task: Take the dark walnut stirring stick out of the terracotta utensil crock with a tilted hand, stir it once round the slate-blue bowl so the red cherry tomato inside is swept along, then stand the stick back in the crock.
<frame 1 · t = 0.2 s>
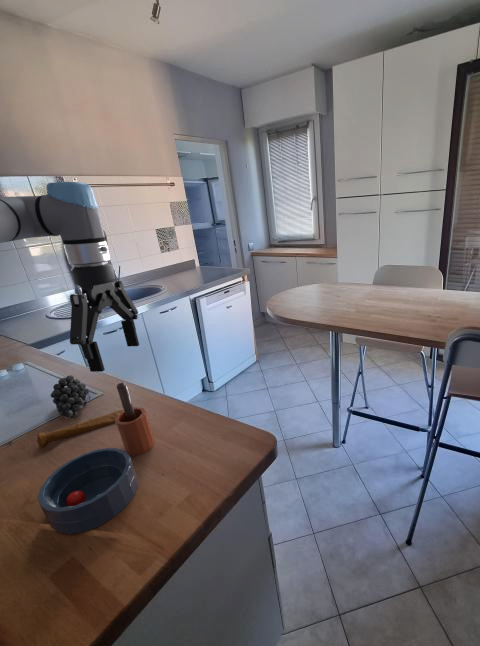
hand: (117, 357, 77), 19 cm above the counter, tool pointing down, fingers open, 13 cm apart
tomato: (75, 499, 61), point 2 cm above the counter, touching bowl
primitive tool: (88, 429, 83), on the counter
fruit: (72, 411, 92), on the counter
bowl: (96, 499, 63), on the counter
crock: (140, 447, 76), on the counter
stick: (140, 445, 75), point 1 cm above the counter, touching crock
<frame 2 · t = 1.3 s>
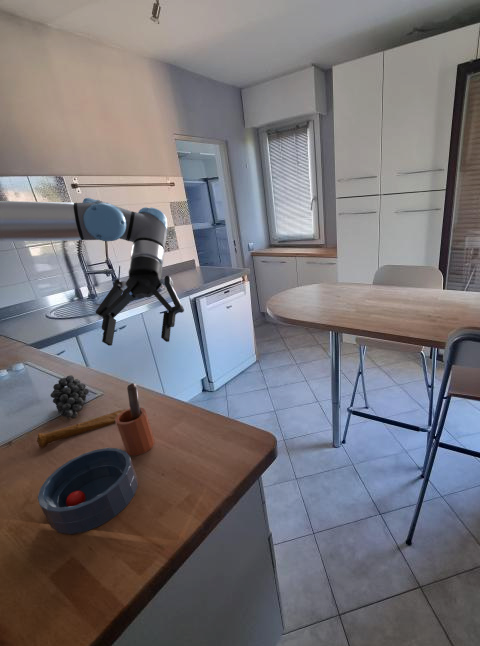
hand: (136, 341, 77), 22 cm above the counter, tool tilted 45°, fingers open, 13 cm apart
stick: (140, 445, 75), point 1 cm above the counter, tilted 9°, touching crock
everything else where it was.
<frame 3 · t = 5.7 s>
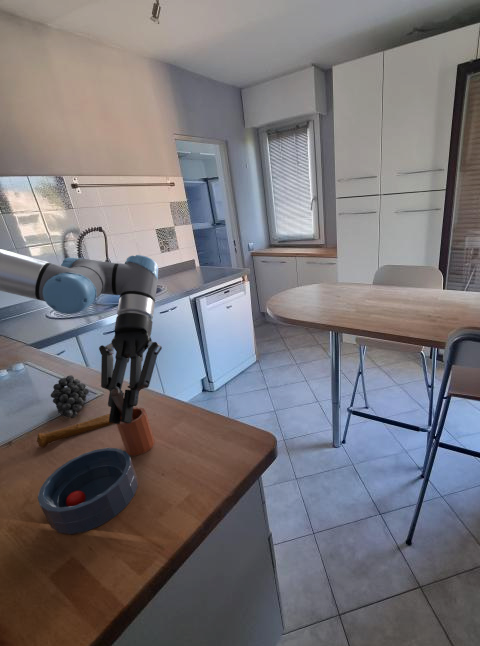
hand: (120, 422, 68), 10 cm above the counter, tool tilted 45°, fingers closed on stick, 2 cm apart
stick: (140, 445, 75), point 1 cm above the counter, tilted 8°, touching gripper
everything else where it was.
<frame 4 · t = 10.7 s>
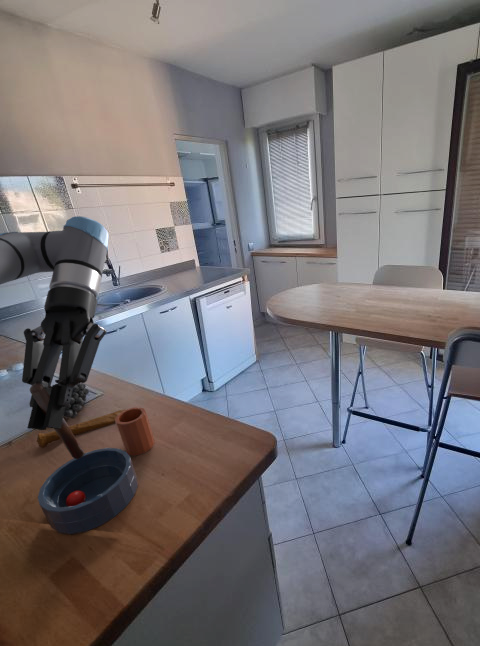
hand: (44, 428, 52), 20 cm above the counter, tool tilted 45°, fingers closed on stick, 2 cm apart
stick: (79, 456, 59), point 10 cm above the counter, tilted 8°, touching gripper
everything else where it was.
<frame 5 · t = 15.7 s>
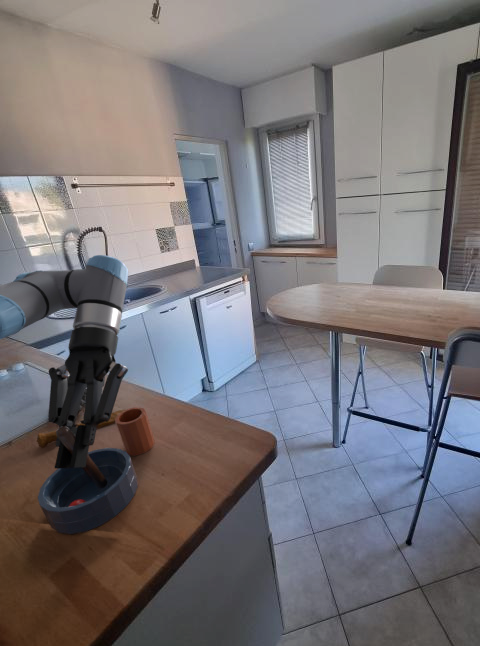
hand: (70, 467, 54), 13 cm above the counter, tool tilted 45°, fingers closed on stick, 2 cm apart
tomato: (77, 508, 59), point 2 cm above the counter, tilted 95°, touching bowl
stick: (103, 486, 62), point 3 cm above the counter, tilted 13°, touching gripper
everything else where it was.
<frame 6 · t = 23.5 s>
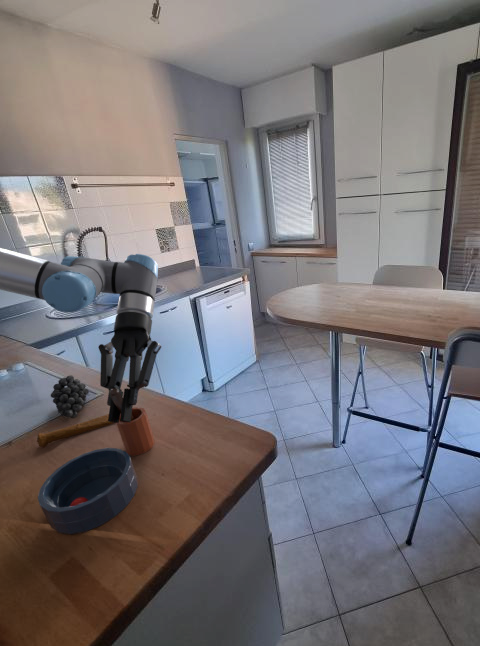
hand: (119, 421, 68), 10 cm above the counter, tool tilted 45°, fingers closed on stick, 2 cm apart
tomato: (79, 506, 59), point 2 cm above the counter, tilted 83°, touching bowl
stick: (141, 441, 76), point 1 cm above the counter, tilted 13°, touching gripper
everything else where it was.
when the fingers open (11 cm above the counter, at t = 24.5 s): stick stays where it is, resting on crock.
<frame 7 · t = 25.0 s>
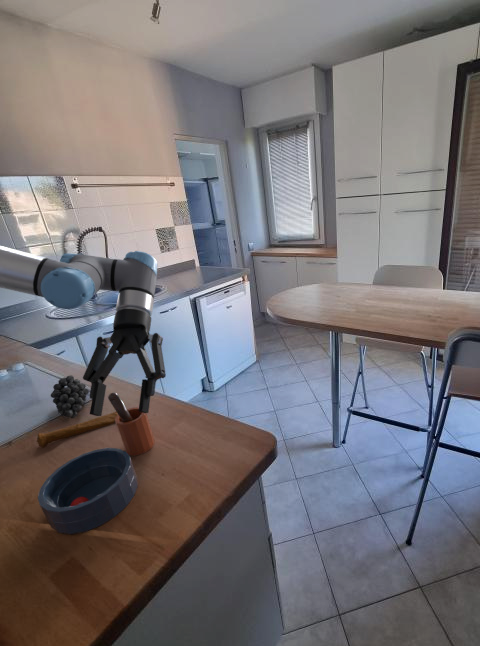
hand: (119, 413, 68), 12 cm above the counter, tool tilted 45°, fingers open, 9 cm apart
stick: (141, 443, 76), point 1 cm above the counter, tilted 15°, touching crock
everything else where it was.
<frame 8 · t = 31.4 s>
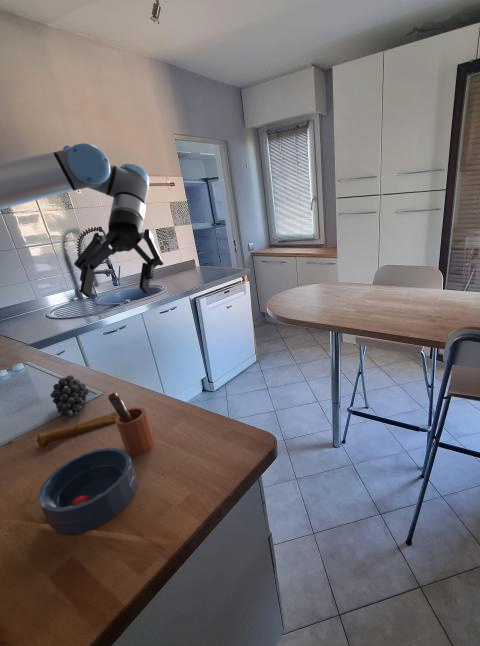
hand: (114, 292, 76), 33 cm above the counter, tool tilted 45°, fingers open, 13 cm apart
tomato: (81, 504, 60), point 2 cm above the counter, tilted 71°, touching bowl
everything else where it was.
at the end: stick 0.9 cm off-centre in the crock, point 0.6 cm above the crock's base; tomato moved 2.0 cm from its start; tomato inside the target area in the bowl (2.8 cm from its centre), point 2.1 cm above the bowl's base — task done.
